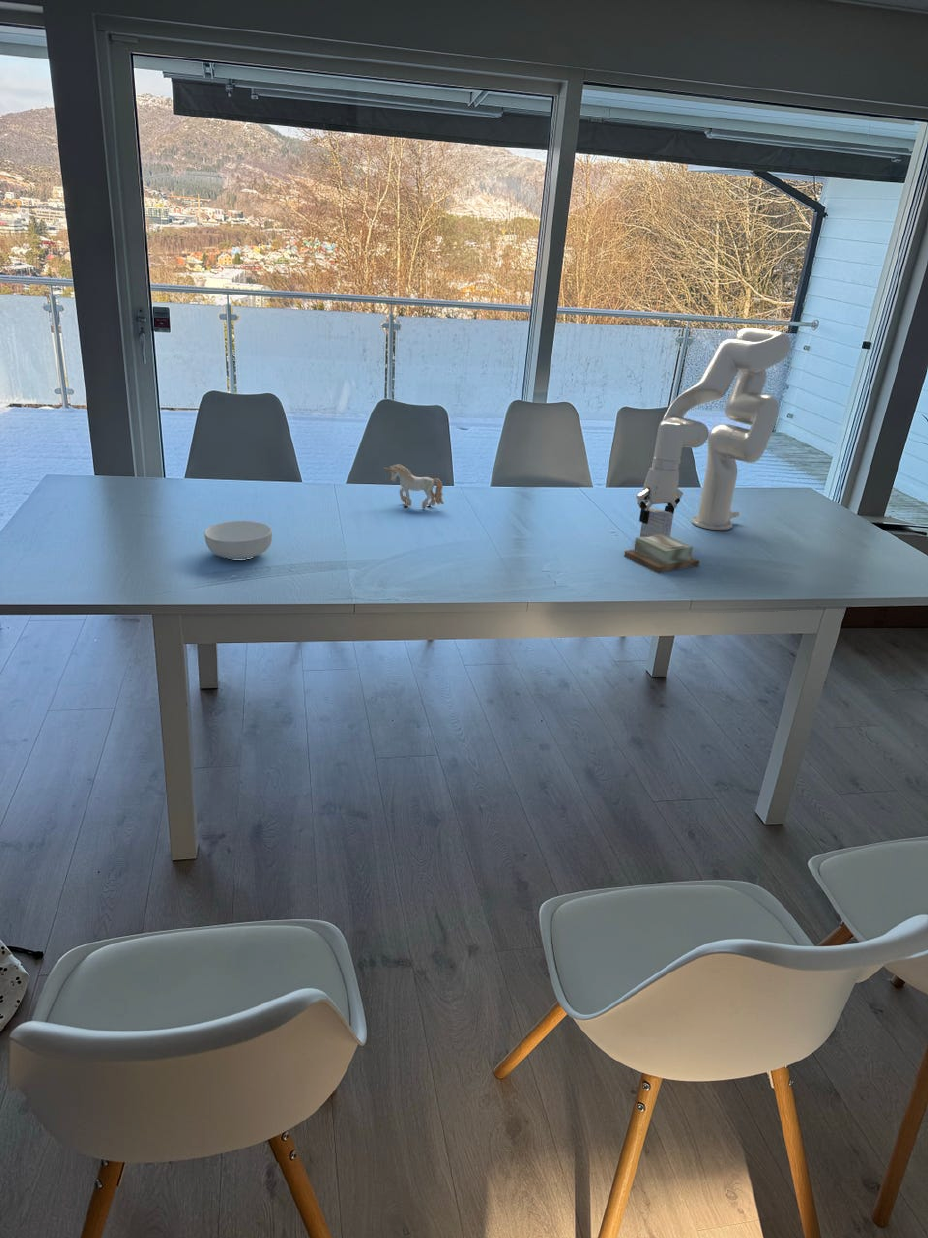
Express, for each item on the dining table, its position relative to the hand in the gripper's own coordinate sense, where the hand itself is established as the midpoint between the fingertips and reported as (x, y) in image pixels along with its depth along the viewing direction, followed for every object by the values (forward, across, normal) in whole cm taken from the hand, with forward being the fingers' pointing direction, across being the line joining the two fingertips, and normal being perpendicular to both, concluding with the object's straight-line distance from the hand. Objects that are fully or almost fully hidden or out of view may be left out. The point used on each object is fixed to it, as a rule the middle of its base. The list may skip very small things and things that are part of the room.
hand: (655, 521), depth 262 cm
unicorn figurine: (+7, +54, -51) cm, 75 cm away
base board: (+6, +11, +15) cm, 20 cm away
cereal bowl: (+9, +116, -30) cm, 120 cm away
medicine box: (+6, -1, 0) cm, 6 cm away
